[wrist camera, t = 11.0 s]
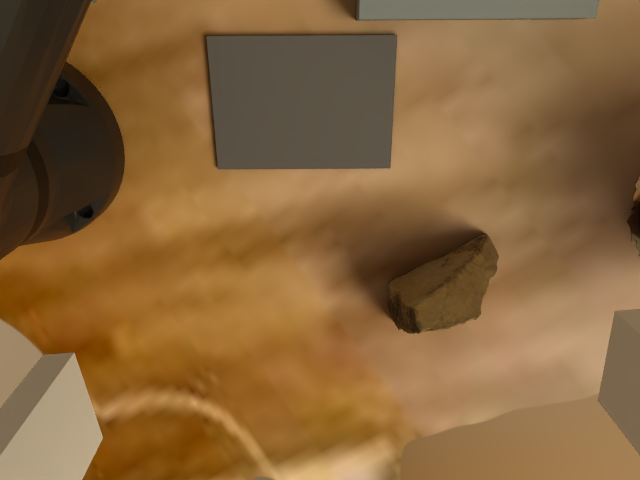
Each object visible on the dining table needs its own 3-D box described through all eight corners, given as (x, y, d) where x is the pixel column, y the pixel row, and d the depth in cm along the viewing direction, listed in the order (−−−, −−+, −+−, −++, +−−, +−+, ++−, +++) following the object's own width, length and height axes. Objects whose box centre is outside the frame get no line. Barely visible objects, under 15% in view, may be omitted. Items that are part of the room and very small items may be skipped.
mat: (218, 168, 40) (218, 169, 40) (207, 36, 36) (206, 36, 36) (389, 167, 40) (390, 168, 40) (396, 34, 36) (397, 35, 36)
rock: (509, 207, 39) (388, 227, 39) (554, 305, 35) (418, 330, 34) (474, 269, 49) (375, 286, 48) (506, 352, 44) (398, 373, 44)
